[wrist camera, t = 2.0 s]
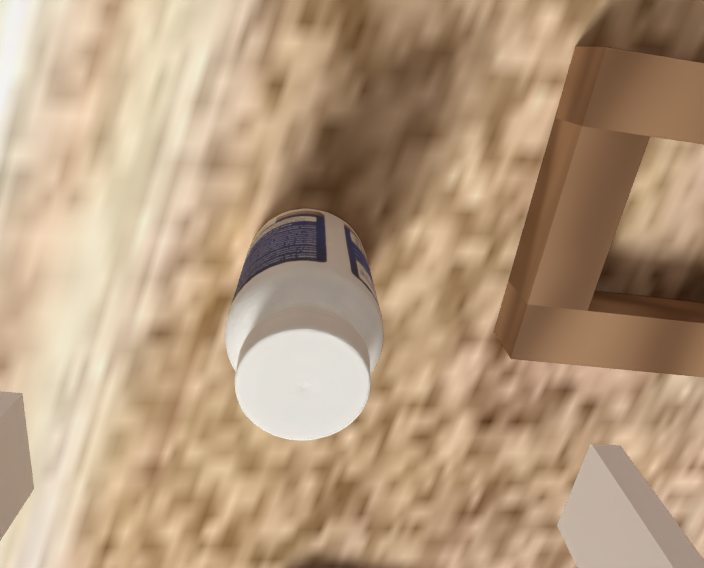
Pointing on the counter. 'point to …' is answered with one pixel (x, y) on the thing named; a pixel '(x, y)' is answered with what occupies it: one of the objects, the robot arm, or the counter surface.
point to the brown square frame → (601, 221)
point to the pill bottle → (304, 326)
